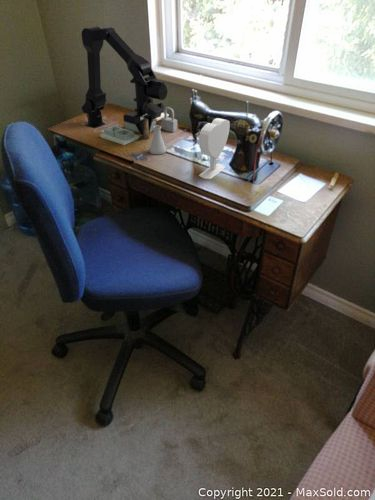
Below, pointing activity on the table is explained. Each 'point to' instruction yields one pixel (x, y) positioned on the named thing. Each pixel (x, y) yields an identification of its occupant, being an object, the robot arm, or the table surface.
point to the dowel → (145, 130)
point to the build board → (119, 135)
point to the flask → (157, 142)
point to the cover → (160, 117)
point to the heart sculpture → (213, 144)
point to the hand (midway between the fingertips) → (145, 133)
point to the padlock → (169, 121)
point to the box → (134, 128)
